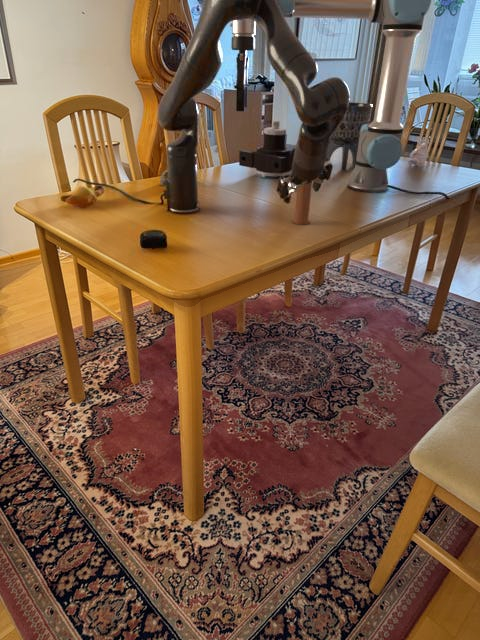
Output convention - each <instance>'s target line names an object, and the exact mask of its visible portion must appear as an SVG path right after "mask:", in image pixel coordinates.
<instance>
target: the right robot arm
mask: <svg viewBox="0 0 480 640" xmlns="http://www.w3.org/2000/svg"><path fill="white" fill-rule="evenodd" d="M276 2H277V4H278V6H279V8H280V10H281V12H282V14H283V16H284V18H299V19H300V18H301V19H302V18H307V19H349V20H350V19H352V20H353V19H354V20H367V21H368V23H370V24H371V23H374V24H383V25H382V33H383V34H384V36H385V38H386V39H385V43H384V44H385V45H384V51H383V57H382V58H383V59H382V63H381V64H382V65H381V70H380V71H381V72H380V77H379V82H378V89H377V97H376V101H375V110H374V116H373V120H372V121H371V122H369V124H364V125H362V127H361V130H360V133H359V134H360V137H359V144H358V151H357V158H356V165H355V166H354V167H353V171H351V174H350V176H349V179H348V180H347V181H348V182H347V187H348V188H349V189H351V190H354V191H358V192H363V193H364V192H365V193H382V192H386V191H388V189H393V190H396V191H399V192H402V193H406V194H411V195H441V196H443V197H444V198H445V199H446V200H450V197H449V195H448V194H447V193H445V192H442V191H412V190H407V189H405V188H404V189H403V188H400V187H397V186H394V185H391V184H389V178H388V173H387V172H388V171H387V169H390V168H392V167H394V166H395V165H396V164H397V163H399V161H400V159H401V158H402V155H403V152H404V149H403V148H404V147H403V141H402V139H403V138H402V137H403V132H404V126H403V124H402V123H401V117H402V112H403V107H404V101H405V97H406V96H405V95H406V90H407V84H408V79H409V73H410V67H411V62H412V59H413V51H414V45H415V41H416V38H417V37H418V36H419V35H420V34H421V33H422V32H423V31H422V30H423V25H424V20H425V16H426V14H427V13H428V12H429V9H430V7H431V4H432V0H276ZM256 25H257V23H256V22H255V21H253V20H252V19H251V18H250V19H245V20H236V21H231V22H229V27H231V35H233V36H231V46H230V47H231V50H232V51H238V53H237V54H236V58H235V59H236V60H235V61H236V83H235V84H234V90H236V101H235V102H236V103H235V104H236V106H235V111H236V112H245V111H246V109H245V108H248V87H250V83H249V79H248V78H249V65H250V57H249V54H248V51H255V49H256V38H255V37H254V36H255V35H256Z"/></svg>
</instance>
